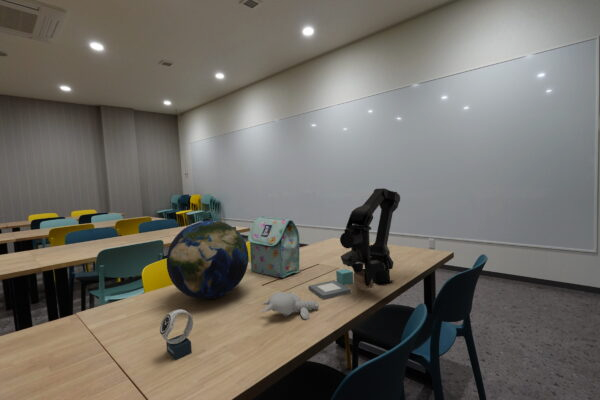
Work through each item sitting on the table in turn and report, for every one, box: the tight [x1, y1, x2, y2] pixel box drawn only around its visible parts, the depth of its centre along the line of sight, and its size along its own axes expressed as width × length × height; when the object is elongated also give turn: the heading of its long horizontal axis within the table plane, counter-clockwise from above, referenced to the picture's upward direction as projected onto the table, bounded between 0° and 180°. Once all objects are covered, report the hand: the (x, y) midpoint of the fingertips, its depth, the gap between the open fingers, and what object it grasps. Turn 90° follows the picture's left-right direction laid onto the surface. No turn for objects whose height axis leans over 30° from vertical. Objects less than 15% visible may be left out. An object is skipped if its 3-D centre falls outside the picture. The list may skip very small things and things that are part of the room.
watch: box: [159, 308, 194, 361], centre depth 77 cm, size 6×8×11 cm
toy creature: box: [261, 291, 319, 320], centre depth 96 cm, size 13×7×20 cm
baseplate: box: [308, 280, 352, 300], centre depth 115 cm, size 12×12×2 cm
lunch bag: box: [247, 216, 301, 278], centre depth 142 cm, size 23×16×27 cm
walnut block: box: [353, 271, 374, 291], centre depth 111 cm, size 5×5×5 cm
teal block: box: [335, 268, 354, 286], centre depth 124 cm, size 5×5×5 cm
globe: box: [166, 219, 250, 301], centre depth 114 cm, size 30×30×30 cm
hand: (363, 283), depth 112 cm, fingers closed on walnut block, 5 cm apart
